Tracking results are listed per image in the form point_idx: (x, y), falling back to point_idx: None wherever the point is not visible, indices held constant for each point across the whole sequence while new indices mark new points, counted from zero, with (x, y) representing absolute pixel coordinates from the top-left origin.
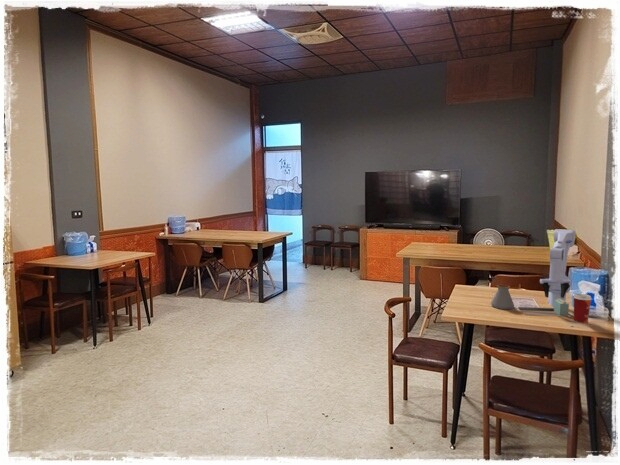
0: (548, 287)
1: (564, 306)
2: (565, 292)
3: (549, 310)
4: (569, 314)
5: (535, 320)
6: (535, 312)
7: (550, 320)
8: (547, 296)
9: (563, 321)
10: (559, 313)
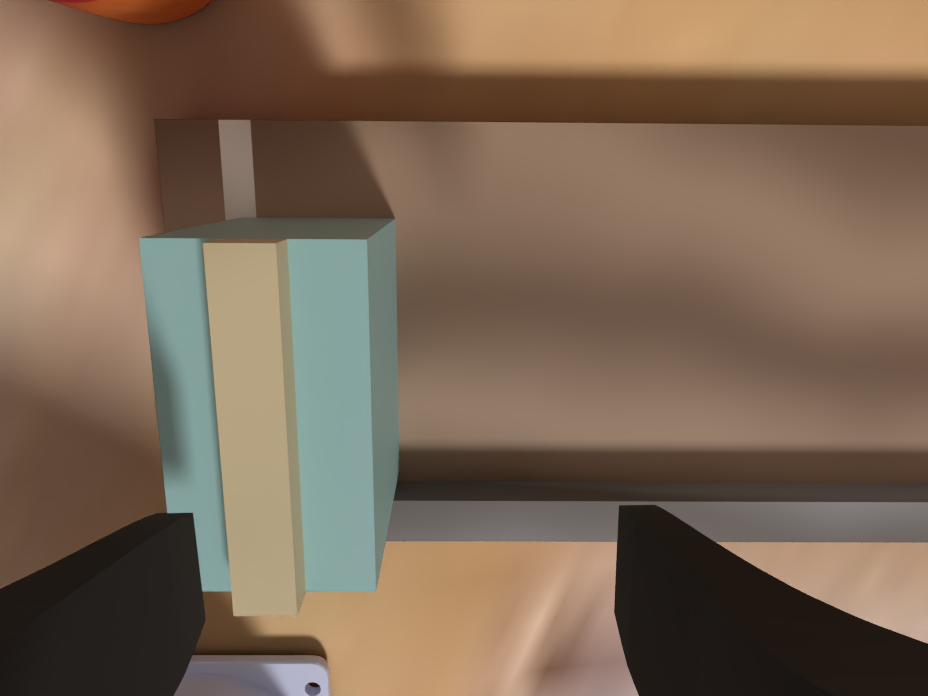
0: (855, 676)
1: (271, 231)
2: (13, 590)
3: (467, 483)
4: None
5: (908, 2)
6: (778, 339)
7: (626, 40)
8: (654, 513)
9: (410, 4)
10: (393, 228)
